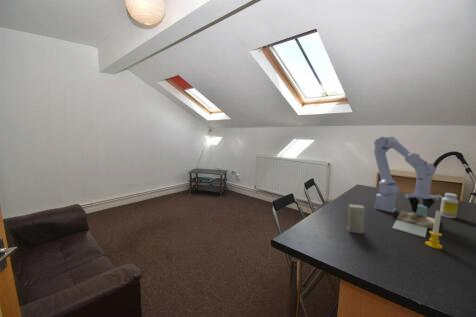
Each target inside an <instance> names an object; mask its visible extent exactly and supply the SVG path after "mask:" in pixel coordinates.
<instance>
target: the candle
mask: <svg viewBox="0 0 476 317" xmlns="http://www.w3.org/2000/svg"><path fill="white" fill-rule="evenodd" d="M435 211H436V212H435V214H434V215H435V216H434V219H435V221H434V227H433V229H432V230H429V231H428V232H429V233H430V237H429V239H428V240H427V241H425V242H424V244H425V245H426V246H427V247H430V248H433V249H436V250H442V249H443V246H442V244H440V240H439V238H440V237H441V236H443V234H442V233H440V232H439V230H440V225H441V218H442V216H441V211H440V210H435Z"/></svg>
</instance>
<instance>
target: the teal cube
mask: <svg viewBox="0 0 476 317" xmlns="http://www.w3.org/2000/svg"><path fill="white" fill-rule="evenodd" d="M427 211H429V210H428V207H426V206H424V205H423V204H419V203H418V206H417V211H416V212H413V211H412V210H411V213H412V212H413V213H414V214H416V215H423V216H427V217H428V212H427Z"/></svg>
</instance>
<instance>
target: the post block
mask: <svg viewBox="0 0 476 317" xmlns="http://www.w3.org/2000/svg"><path fill="white" fill-rule="evenodd" d="M396 220H398V221H402V222H406V223H410V224H414V225H418V226H422V227H425V228H427V229H431V230H433V227H434V221H435V217H434V218H433V217H429V216H428V215H427V216H423V215H416V214H414V213H413V212H412V211H411V212H408V211H404V210H401V211H400V213H399V214H398V216H397V218H396Z"/></svg>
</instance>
